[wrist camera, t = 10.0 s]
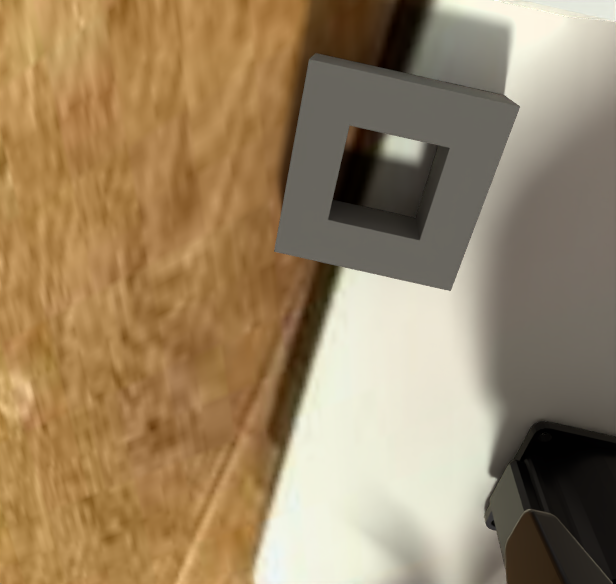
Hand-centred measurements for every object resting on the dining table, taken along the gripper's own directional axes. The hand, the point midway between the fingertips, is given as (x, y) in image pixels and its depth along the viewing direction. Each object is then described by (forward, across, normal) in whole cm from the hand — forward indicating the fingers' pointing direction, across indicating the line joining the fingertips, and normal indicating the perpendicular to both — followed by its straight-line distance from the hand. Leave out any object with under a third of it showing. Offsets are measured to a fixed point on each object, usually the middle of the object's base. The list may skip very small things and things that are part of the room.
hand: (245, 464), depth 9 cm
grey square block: (+12, -2, -2) cm, 12 cm away
